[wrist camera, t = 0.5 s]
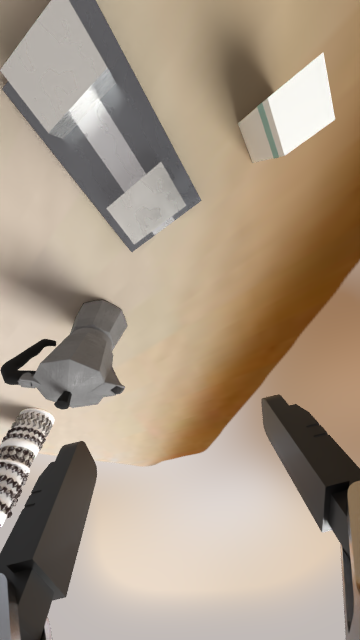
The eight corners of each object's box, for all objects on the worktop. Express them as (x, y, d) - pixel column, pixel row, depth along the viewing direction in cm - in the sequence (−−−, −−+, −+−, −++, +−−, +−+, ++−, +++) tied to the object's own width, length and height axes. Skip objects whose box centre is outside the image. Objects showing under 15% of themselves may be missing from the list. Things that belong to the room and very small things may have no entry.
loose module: (237, 123, 25) (267, 97, 17) (274, 93, 23) (323, 51, 16) (252, 163, 27) (284, 156, 19) (287, 137, 26) (335, 119, 18)
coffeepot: (141, 305, 38) (122, 387, 23) (135, 345, 43) (116, 433, 28) (49, 288, 35) (-39, 368, 20) (54, 332, 40) (-15, 422, 25)
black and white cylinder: (25, 402, 51) (-74, 553, 31) (62, 415, 55) (-5, 558, 34) (13, 419, 55) (-83, 564, 34) (48, 430, 59) (-20, 568, 38)
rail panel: (11, 94, 23) (-25, 74, 19) (90, -8, 19) (68, -59, 15) (133, 249, 32) (127, 259, 28) (199, 199, 29) (204, 202, 25)
